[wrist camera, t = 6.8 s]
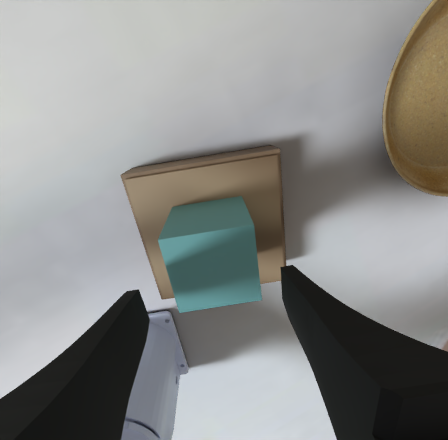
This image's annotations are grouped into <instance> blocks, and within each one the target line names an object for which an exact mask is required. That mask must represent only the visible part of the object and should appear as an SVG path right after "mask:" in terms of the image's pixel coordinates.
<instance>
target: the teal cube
mask: <svg viewBox="0 0 448 440" xmlns="http://www.w3.org/2000/svg"><path fill="white" fill-rule="evenodd" d="M158 243H159V246H160V249H161V253H162V256H163V260H164V263H165V266H166V270H167V273H168V276H169V280H170V283H171V286H172V290H173V293H174V296H175V300H176V303H177V306H178V310H179V313H182V312H189V311H195V310H202V309H208V308H214V307H221V306H227V305H234V304H240V303H246V302H253V301H259V300H262V295H261V286H260V276H259V267H258V257H257V248H256V239H255V229H254V224H253V221H252V219H251V216H250V214H249V212H248V209H247V207H246V205H245V202H244V200H243V198H242V196H238V197H232V198H225V199H219V200H213V201H207V202H200V203H194V204H188V205H181V206H175V207H172V209H171V211H170V213H169V216H168V218H167V220H166V222H165V225H164V227H163V229H162V231H161V234H160V236H159V238H158Z"/></svg>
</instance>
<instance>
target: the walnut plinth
mask: <svg viewBox="0 0 448 440" xmlns="http://www.w3.org/2000/svg"><path fill="white" fill-rule="evenodd" d="M121 178H122V181H123V184H124V187H125V190H126V193H127V196H128V199H129V202H130V205H131V208H132V211H133V214H134V217H135V220H136V223H137V226H138V229H139V232H140V235H141V238H142V241H143V244H144V247H145V250H146V253H147V256H148V259H149V262H150V265H151V268H152V271H153V275H154V278H155V281H156V284H157V287H158V290H159V293H160V296H161V299H169V298H175V296H174V293H173V290H172V286H171V283H170V280H169V276H168V273H167V270H166V266H165V263H164V260H163V256H162V253H161V249H160V246H159V243H158V238H159V236H160V234H161V231H162V229H163V227H164V225H165V222H166V220H167V218H168V216H169V213H170V211H171V209H172V207H175V206H181V205H188V204H194V203H200V202H207V201H213V200H219V199H225V198H232V197H238V196H242V198H243V200H244V202H245V205H246V207H247V209H248V212H249V214H250V216H251V219H252V221H253V224H254V229H255V239H256V248H257V257H258V267H259V276H260V284H263V283H270V282H276V281H281V268H280V267H284V266H286V253H285V234H284V215H283V196H282V178H281V159H280V149H279V148H276V147H274V146H271V145H269V146H263V147H257V148H251V149H245V150H239V151H233V152H227V153H221V154H214V155H208V156H202V157H196V158H190V159H184V160H178V161H172V162H166V163H160V164H154V165H147V166H141V167H135V168H131V169H130V170H128V171H126V172H125V173H123V174H121Z"/></svg>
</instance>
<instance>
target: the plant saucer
mask: <svg viewBox="0 0 448 440" xmlns="http://www.w3.org/2000/svg"><path fill="white" fill-rule="evenodd" d="M382 128H383V136H384V142H385V147H386V150H387V153H388V156H389V158H390V161H391V163H392V165H393V166H394V168H395V170H396V171H397V172H398V173H399V175H400V176H401V177H402V178H403V179H404V180H405V181H406V182H407V183H408V184H410V185H411V186H413V187H414V188H416V189H419V190H420V191H423V192H425V193H428V194H432V195H437V196H446V197H448V0H433V1H432V2H431V3H430V4H429V6H428V7H427V8H426V9H425V11H424V12H423V13H422V15H421V16H420V17H419V19H418V20H417V22H416V23H415V25H414V26H413V28H412V30H411V31H410V33H409V35H408V36H407V38H406V40H405V42H404V44H403V46H402V48H401V50H400V52H399V54H398V56H397V59H396V61H395V63H394V66H393V69H392V72H391V75H390V78H389V81H388V84H387V88H386V92H385V98H384V104H383V115H382Z"/></svg>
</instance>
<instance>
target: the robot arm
mask: <svg viewBox="0 0 448 440" xmlns="http://www.w3.org/2000/svg"><path fill="white" fill-rule="evenodd" d="M280 268H281V284H282V299H283V302H284V305H285V308H286V311H287V314H288V317H289V320H290V322H291V324H292V326H293V328H294V330H295V333H296V335H297V337H298V339H299V341H300V343H301V346H302V348H303V350H304V352H305V354H306V356H307V358H308V361H309V363H310V365H311V368H312V370H313V372H314V375H315V378H316V381H317V383H318V386H319V389H320V392H321V395H322V397H323V400H324V403H325V406H326V409H327V412H328V415H329V417H330V420H331V423H332V426H333V429H334V432H335V435H336V438H337V440H448V352H447V351H444V350H441V349H438V348H436V347H433V346H430V345H427V344H425V343H422V342H420V341H417V340H415V339H413V338H410V337H408V336H405V335H403V334H401V333H399V332H396V331H394V330H392V329H390V328H388V327H386V326H384V325H382V324H380V323H377V322H375V321H373V320H371V319H370V318H368V317H366V316H364V315H362V314H360V313H359V312H357V311H355V310H353V309H352V308H350V307H348V306H347V305H345V304H343V303H342V302H340V301H339V300H337V299H336V298H334V297H333V296H331V295H330V294H329V293H327V292H326V291H324V290H323V289H322V288H320V287H319V286H318V285H316V284H315V283H314V282H313V281H311V280H310V279H309V278H308V277H306V276H305V275H304V274H303V273H302V272H300V271H299V270H298V269H297V268H296V267H294V266H293V265H290V266H284V267H280ZM166 319H169V320H166ZM188 370H189V368H188V364H187V361H186V358H185V355H184V352H183V349H182V346H181V343H180V340H179V336H178V333H177V330H176V327H175V324H174V321H173V318H172V315H171V313H170V312H169V311H163V312H156V313H150V314H148V313H147V311H146V308H145V305H144V302H143V300H142V297H141V294H140V292H139V290H132V291H127V292H126V293H124V294H123V295H122V296H121V297H120V298H119V299H118V300H117V301H116V302H115V303H114V304H113V305H112V306H111V307H110V308H109V309H108V311H107V312H106V313H105V314H104V315H103V316H102V317H101V318H100V319H99V320H98V321H97V322H96V323H95V324H94V325H92V326H91V327H90V328H89V329H88V330H87V331H86V332H85V333H84V334H83V335H82V336H81V337H80V338H79V339H78V340H76V341H75V342H74V343H73V344H72V345H71V346H70V347H69V348H67V349H66V350H65V351H64V352H63V353H62V354H60V355H59V356H58V357H57V358H55V359H54V360H53V361H52V362H51V363H49V364H48V365H47V366H45V367H44V368H43V369H41V370H40V371H39V372H37V373H36V374H35V375H33V376H32V377H31V378H29V379H28V380H27V381H25V382H24V383H23V384H21V385H20V386H18V387H17V388H16V389H14V390H13V391H11V392H10V393H8V394H7V395H5V396H4V397H2V398H1V399H0V440H171V439H172V435H173V430H174V422H175V413H176V405H177V396H178V388H179V379H180V375H181V374H186V373H188Z"/></svg>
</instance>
